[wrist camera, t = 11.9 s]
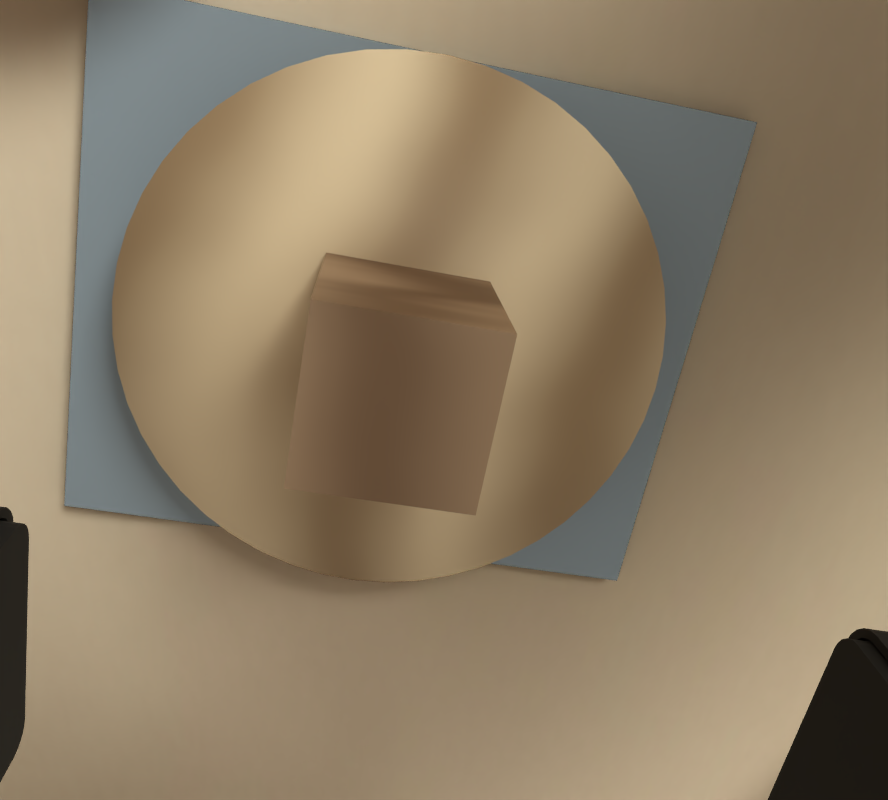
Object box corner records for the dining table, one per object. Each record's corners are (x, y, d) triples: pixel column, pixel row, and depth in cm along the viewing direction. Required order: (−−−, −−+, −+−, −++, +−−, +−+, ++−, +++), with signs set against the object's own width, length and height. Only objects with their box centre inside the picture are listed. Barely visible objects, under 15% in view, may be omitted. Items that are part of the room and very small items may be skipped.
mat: (749, 121, 24) (756, 122, 24) (613, 572, 29) (616, 580, 29) (95, -18, 22) (89, -20, 21) (69, 498, 27) (64, 505, 26)
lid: (708, 112, 24) (832, 126, 17) (576, 575, 29) (633, 723, 22) (152, -5, 22) (52, -40, 15) (117, 513, 27) (30, 655, 20)
